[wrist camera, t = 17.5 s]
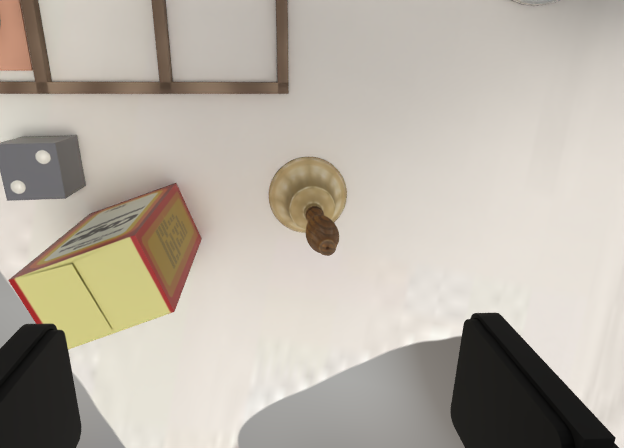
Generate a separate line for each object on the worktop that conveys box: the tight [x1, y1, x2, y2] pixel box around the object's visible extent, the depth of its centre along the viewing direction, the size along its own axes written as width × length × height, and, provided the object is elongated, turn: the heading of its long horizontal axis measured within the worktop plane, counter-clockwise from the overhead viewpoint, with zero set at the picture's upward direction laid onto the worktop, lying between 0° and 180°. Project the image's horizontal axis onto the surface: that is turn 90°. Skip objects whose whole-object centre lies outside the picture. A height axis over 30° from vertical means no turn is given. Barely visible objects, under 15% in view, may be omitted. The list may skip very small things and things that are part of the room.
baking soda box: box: [9, 183, 201, 349], centre depth 40 cm, size 10×6×16 cm
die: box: [0, 135, 86, 201], centre depth 42 cm, size 5×5×5 cm
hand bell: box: [269, 157, 347, 256], centre depth 41 cm, size 8×8×16 cm
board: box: [0, 0, 288, 94], centre depth 40 cm, size 34×13×1 cm, turn 90°
